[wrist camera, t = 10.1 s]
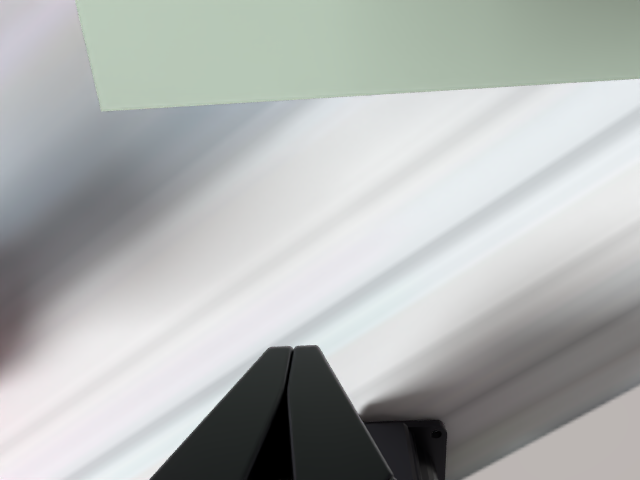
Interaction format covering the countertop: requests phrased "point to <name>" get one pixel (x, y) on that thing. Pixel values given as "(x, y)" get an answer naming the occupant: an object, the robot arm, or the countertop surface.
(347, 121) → the countertop surface
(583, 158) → the countertop surface
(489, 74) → the cover
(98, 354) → the countertop surface
